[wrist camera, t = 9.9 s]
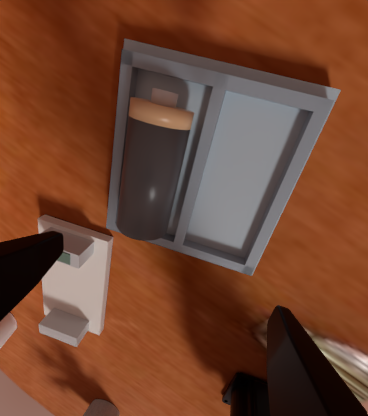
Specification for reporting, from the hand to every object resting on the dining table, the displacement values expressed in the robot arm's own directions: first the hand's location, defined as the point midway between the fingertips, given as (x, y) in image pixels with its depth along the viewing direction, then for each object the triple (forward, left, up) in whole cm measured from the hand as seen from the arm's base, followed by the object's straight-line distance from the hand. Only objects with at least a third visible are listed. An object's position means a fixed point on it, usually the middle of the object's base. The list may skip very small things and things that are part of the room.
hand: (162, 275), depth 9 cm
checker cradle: (-16, +12, -12) cm, 23 cm away
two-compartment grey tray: (+1, +1, -12) cm, 12 cm away
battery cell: (+1, +4, -10) cm, 11 cm away
